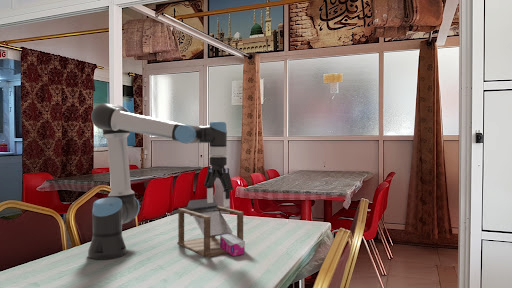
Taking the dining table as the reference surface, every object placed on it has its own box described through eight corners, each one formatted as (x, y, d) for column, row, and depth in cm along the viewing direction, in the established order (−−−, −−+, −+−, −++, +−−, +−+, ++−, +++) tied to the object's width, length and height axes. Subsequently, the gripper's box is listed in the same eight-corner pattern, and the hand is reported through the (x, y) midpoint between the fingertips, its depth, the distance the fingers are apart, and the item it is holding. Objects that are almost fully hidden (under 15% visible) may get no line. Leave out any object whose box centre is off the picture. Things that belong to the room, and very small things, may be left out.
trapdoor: (184, 208, 184) (187, 200, 181) (212, 205, 193) (215, 198, 191) (202, 241, 171) (206, 233, 168) (231, 236, 180) (234, 228, 177)
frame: (177, 243, 185) (177, 208, 185) (212, 237, 197) (212, 204, 197) (207, 257, 163) (207, 217, 163) (244, 250, 175) (244, 212, 175)
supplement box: (219, 234, 173) (234, 243, 164) (230, 232, 177) (245, 241, 168) (218, 247, 174) (233, 256, 165) (230, 245, 177) (245, 254, 168)
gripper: (241, 157, 167) (241, 207, 167) (210, 155, 187) (210, 200, 187) (226, 157, 162) (226, 209, 162) (196, 155, 182) (196, 201, 182)
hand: (218, 204), depth 175 cm, fingers open, 13 cm apart
